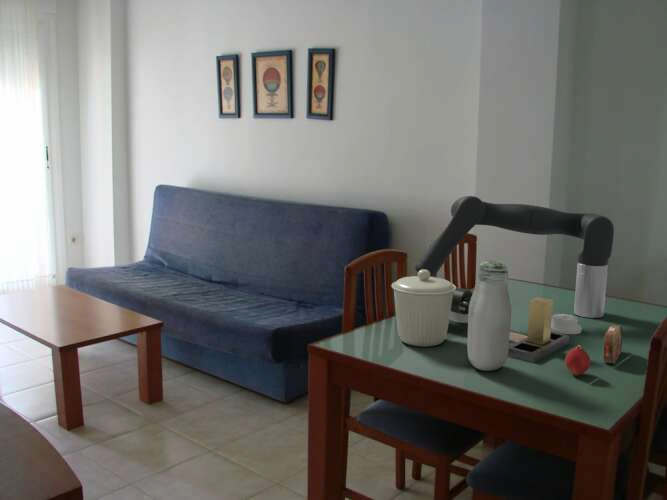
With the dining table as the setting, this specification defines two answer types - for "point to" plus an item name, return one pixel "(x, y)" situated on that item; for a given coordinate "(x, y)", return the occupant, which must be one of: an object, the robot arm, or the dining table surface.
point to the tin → (612, 344)
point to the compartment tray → (537, 348)
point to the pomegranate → (577, 361)
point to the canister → (423, 308)
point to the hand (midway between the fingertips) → (502, 310)
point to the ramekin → (458, 317)
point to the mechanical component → (565, 324)
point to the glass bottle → (489, 317)
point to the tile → (516, 337)
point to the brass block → (540, 321)
